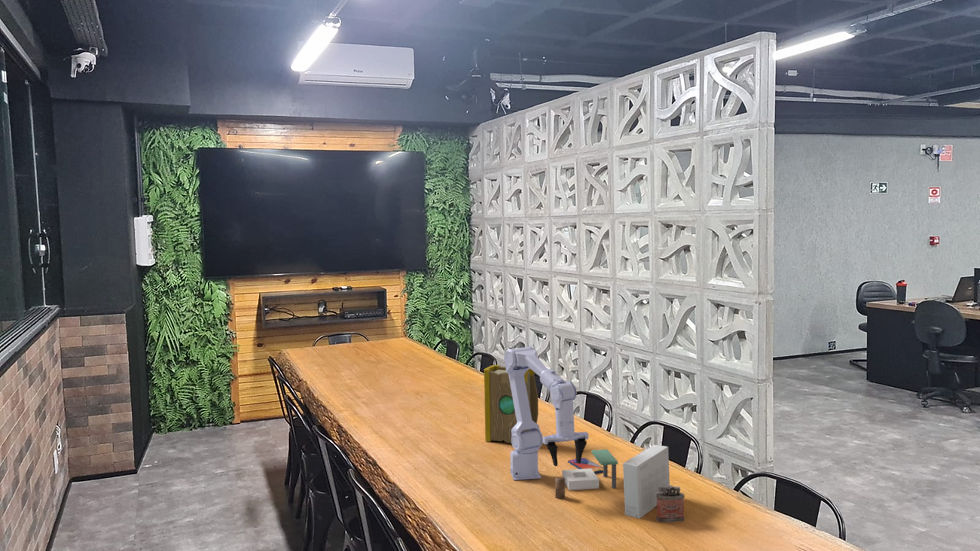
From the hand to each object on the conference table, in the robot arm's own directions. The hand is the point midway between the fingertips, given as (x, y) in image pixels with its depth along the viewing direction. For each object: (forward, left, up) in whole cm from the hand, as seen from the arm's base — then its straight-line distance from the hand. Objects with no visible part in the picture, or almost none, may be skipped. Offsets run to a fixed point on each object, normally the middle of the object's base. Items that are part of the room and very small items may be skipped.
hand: (567, 464), depth 216 cm
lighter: (+26, -21, -11) cm, 35 cm away
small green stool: (+15, +10, -11) cm, 21 cm away
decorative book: (-9, +58, -11) cm, 60 cm away
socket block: (+7, +10, -11) cm, 16 cm away
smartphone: (+13, +25, -11) cm, 30 cm away
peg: (-2, 0, -11) cm, 11 cm away
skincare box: (+23, -10, -11) cm, 27 cm away
